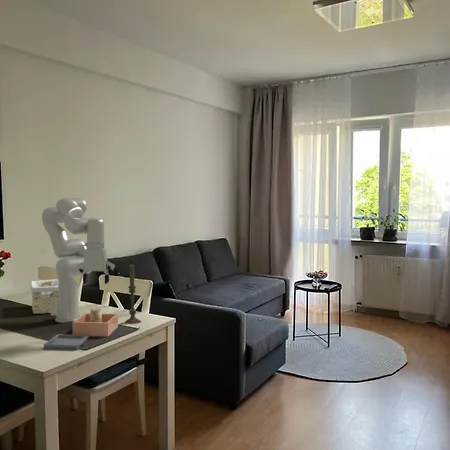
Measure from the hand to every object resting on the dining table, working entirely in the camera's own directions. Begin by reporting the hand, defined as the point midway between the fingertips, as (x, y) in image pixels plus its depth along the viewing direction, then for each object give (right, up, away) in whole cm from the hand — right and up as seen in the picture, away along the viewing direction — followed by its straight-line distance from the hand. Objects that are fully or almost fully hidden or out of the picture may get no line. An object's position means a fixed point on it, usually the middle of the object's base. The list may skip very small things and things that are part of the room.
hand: (96, 283), depth 216 cm
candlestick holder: (+13, -22, +18) cm, 32 cm away
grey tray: (-8, -24, -15) cm, 30 cm away
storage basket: (-40, -20, +46) cm, 64 cm away
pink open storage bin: (0, -23, +2) cm, 23 cm away
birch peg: (0, -22, +2) cm, 22 cm away
